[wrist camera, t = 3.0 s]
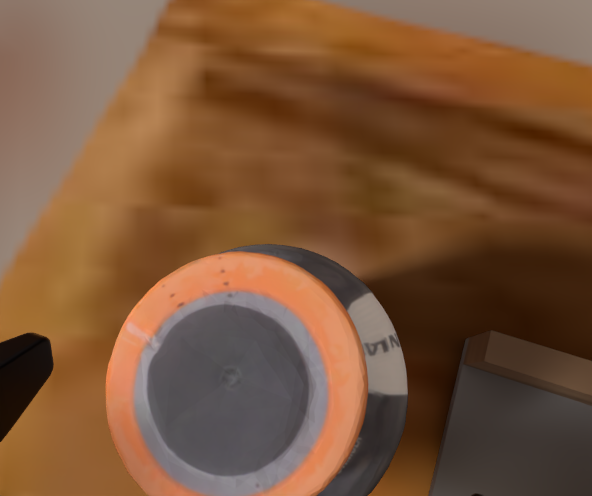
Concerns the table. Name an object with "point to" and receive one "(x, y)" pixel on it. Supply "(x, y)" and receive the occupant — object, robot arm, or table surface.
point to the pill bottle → (257, 379)
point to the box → (517, 422)
